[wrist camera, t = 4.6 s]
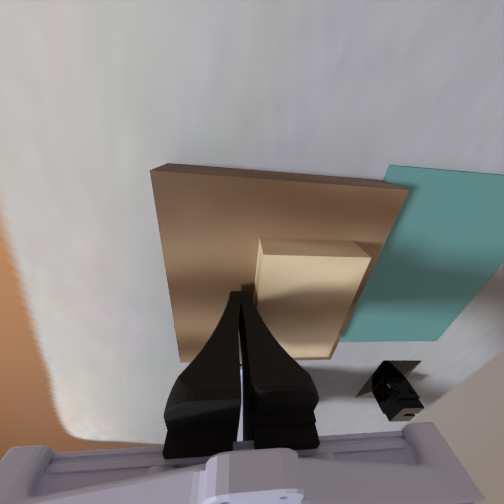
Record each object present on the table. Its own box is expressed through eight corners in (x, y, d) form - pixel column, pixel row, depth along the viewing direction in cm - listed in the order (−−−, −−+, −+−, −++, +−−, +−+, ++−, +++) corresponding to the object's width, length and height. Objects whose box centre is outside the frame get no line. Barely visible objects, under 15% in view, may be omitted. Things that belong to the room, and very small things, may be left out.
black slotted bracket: (384, 397, 32) (405, 434, 28) (342, 397, 31) (358, 436, 27) (429, 350, 26) (464, 390, 22) (378, 349, 25) (405, 389, 21)
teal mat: (433, 337, 24) (436, 340, 23) (321, 338, 22) (322, 342, 22) (563, 180, 15) (571, 181, 15) (389, 165, 13) (393, 165, 13)
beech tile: (319, 334, 17) (328, 356, 15) (249, 335, 17) (251, 358, 15) (352, 241, 13) (371, 257, 11) (259, 237, 12) (263, 254, 10)
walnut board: (319, 332, 22) (330, 359, 19) (187, 333, 20) (180, 362, 18) (376, 179, 14) (409, 189, 11) (167, 163, 12) (149, 170, 10)
